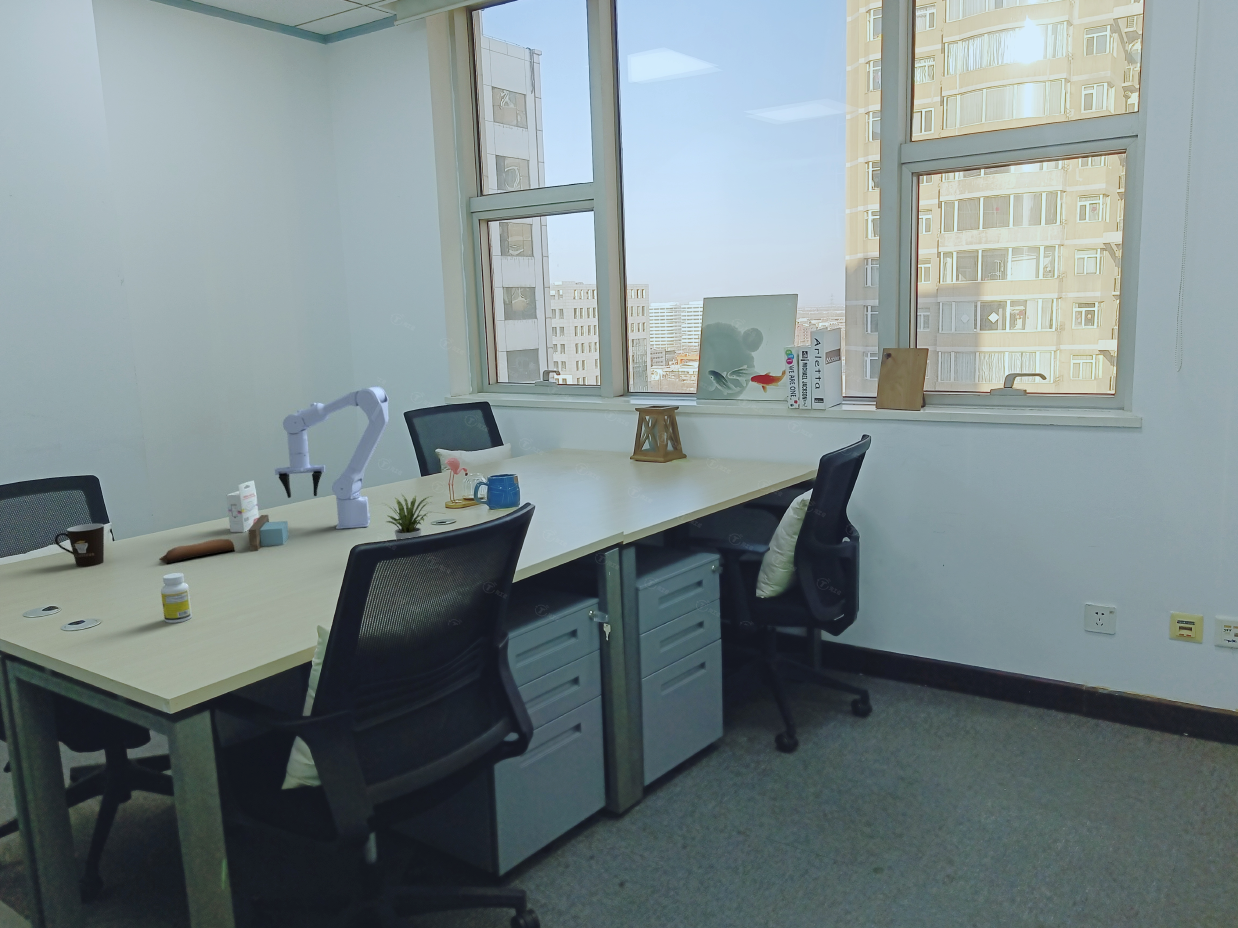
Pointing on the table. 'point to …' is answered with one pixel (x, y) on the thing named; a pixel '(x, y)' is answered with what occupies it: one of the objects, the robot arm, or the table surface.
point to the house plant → (407, 519)
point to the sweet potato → (197, 550)
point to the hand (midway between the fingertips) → (302, 496)
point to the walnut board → (257, 532)
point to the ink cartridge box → (242, 508)
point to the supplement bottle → (176, 598)
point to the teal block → (274, 533)
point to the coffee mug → (86, 544)
